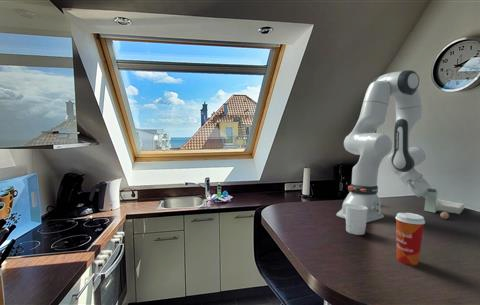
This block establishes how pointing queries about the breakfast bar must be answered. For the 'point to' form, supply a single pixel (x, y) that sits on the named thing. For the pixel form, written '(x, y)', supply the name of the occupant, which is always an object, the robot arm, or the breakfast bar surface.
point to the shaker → (432, 205)
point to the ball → (444, 215)
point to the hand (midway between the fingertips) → (432, 200)
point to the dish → (450, 206)
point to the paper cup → (409, 237)
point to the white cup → (356, 219)
